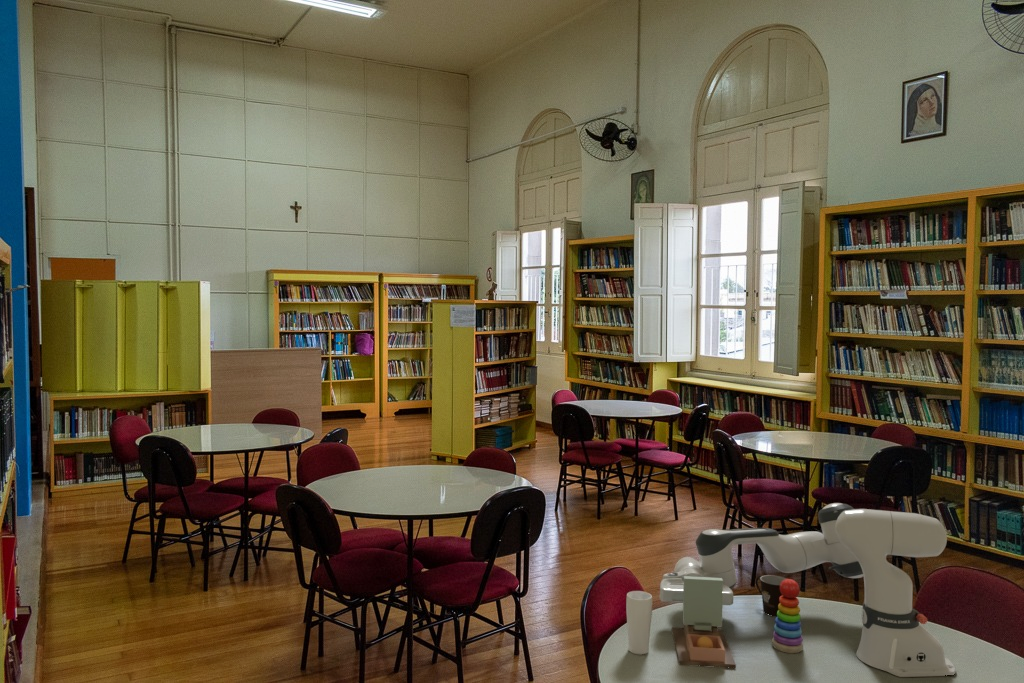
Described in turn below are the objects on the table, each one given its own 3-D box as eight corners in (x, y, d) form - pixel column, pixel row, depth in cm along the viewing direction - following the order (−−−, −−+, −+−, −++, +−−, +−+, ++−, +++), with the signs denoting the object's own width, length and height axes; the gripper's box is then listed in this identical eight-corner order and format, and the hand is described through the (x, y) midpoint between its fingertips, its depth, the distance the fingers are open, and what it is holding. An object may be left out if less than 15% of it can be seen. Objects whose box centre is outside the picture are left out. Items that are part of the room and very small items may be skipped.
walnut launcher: (722, 633, 207) (722, 612, 207) (735, 668, 186) (736, 644, 186) (671, 630, 209) (672, 609, 209) (679, 664, 188) (679, 640, 188)
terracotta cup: (719, 648, 195) (719, 635, 195) (724, 663, 187) (725, 650, 187) (686, 646, 196) (686, 633, 196) (690, 661, 188) (690, 647, 188)
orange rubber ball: (713, 656, 190) (711, 648, 194) (714, 641, 190) (712, 633, 193) (697, 655, 190) (696, 647, 194) (698, 640, 190) (696, 633, 194)
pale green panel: (720, 628, 198) (721, 578, 198) (722, 631, 196) (722, 580, 196) (682, 625, 199) (683, 576, 199) (683, 628, 197) (684, 578, 197)
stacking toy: (766, 647, 198) (768, 579, 198) (779, 638, 204) (780, 571, 204) (795, 657, 193) (797, 586, 193) (807, 647, 199) (809, 578, 198)
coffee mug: (794, 618, 218) (794, 585, 218) (765, 618, 218) (765, 584, 218) (780, 603, 230) (781, 572, 230) (752, 603, 230) (753, 571, 230)
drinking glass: (651, 658, 192) (652, 601, 191) (625, 655, 193) (625, 598, 193) (651, 646, 198) (652, 591, 198) (626, 644, 200) (627, 589, 199)
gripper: (729, 598, 213) (738, 617, 200) (657, 594, 216) (661, 613, 202) (729, 577, 213) (738, 594, 200) (658, 573, 216) (661, 590, 202)
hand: (699, 604), depth 201 cm, fingers closed
